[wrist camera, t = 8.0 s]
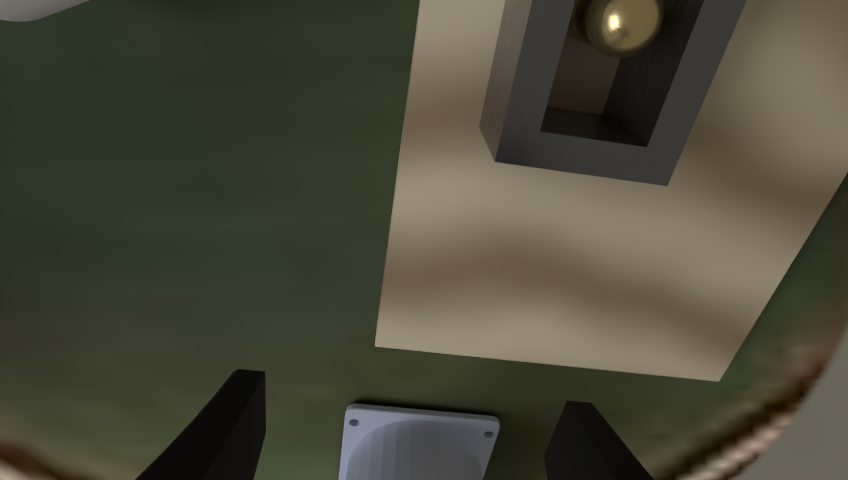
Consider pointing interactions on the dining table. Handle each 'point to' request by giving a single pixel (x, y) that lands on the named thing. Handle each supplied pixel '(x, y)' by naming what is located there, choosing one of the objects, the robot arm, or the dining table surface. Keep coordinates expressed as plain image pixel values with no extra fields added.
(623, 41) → the brass knob
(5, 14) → the mug
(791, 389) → the dining table surface
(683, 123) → the dark grey open box
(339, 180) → the dining table surface
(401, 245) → the birch board
